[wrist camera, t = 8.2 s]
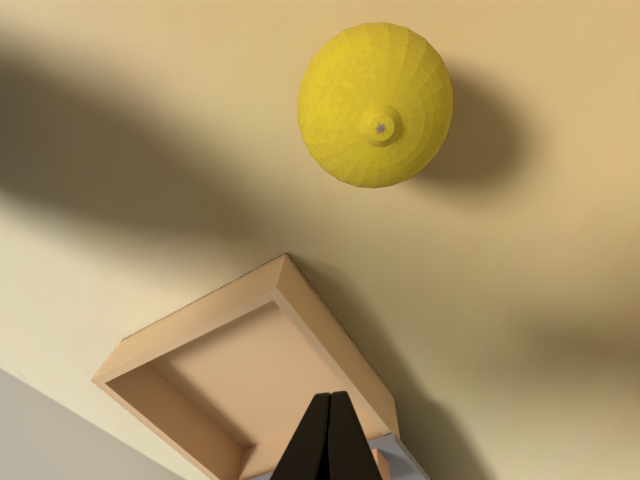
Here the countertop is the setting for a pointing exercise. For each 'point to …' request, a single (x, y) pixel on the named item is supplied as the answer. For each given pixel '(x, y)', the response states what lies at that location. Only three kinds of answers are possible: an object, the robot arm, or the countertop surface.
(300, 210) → the countertop surface
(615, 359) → the countertop surface
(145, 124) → the countertop surface
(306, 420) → the robot arm
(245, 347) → the box
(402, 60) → the lemon
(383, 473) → the lid
